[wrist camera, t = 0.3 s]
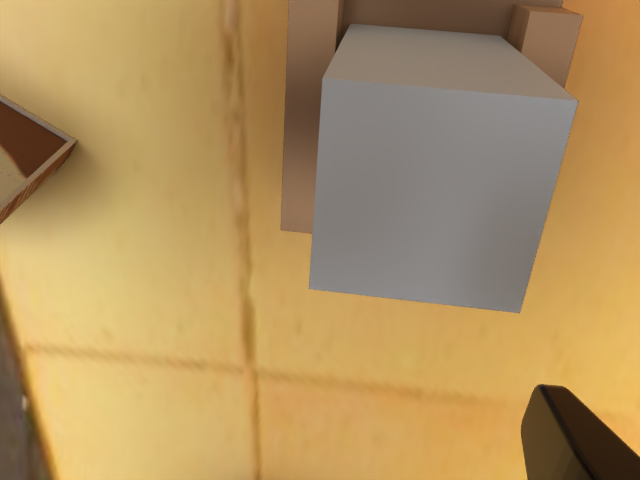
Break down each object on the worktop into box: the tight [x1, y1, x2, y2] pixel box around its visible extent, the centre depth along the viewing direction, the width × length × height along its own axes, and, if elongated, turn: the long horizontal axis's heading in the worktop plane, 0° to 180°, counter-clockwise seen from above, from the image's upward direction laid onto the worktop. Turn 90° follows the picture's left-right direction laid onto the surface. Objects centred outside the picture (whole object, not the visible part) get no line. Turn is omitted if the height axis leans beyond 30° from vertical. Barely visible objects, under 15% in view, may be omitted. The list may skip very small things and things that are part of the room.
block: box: [309, 24, 578, 313], centre depth 16 cm, size 5×5×9 cm
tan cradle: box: [281, 0, 583, 234], centre depth 18 cm, size 15×9×3 cm, turn 176°
